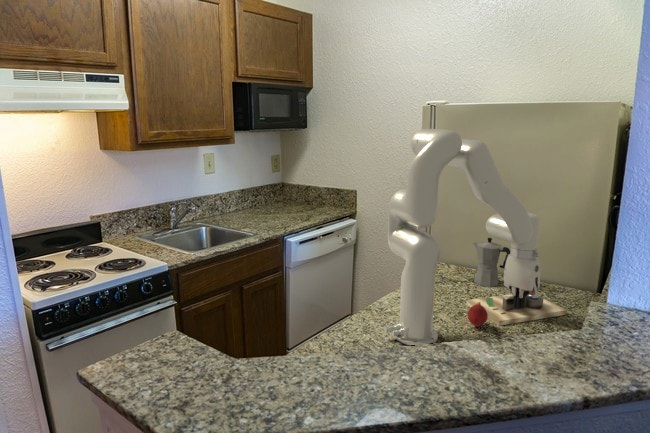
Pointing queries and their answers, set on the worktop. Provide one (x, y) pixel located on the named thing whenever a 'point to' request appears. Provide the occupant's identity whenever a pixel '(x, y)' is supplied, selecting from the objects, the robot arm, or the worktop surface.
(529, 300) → the dial
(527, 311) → the tuner board
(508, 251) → the coffeepot
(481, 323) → the onion
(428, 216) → the robot arm
